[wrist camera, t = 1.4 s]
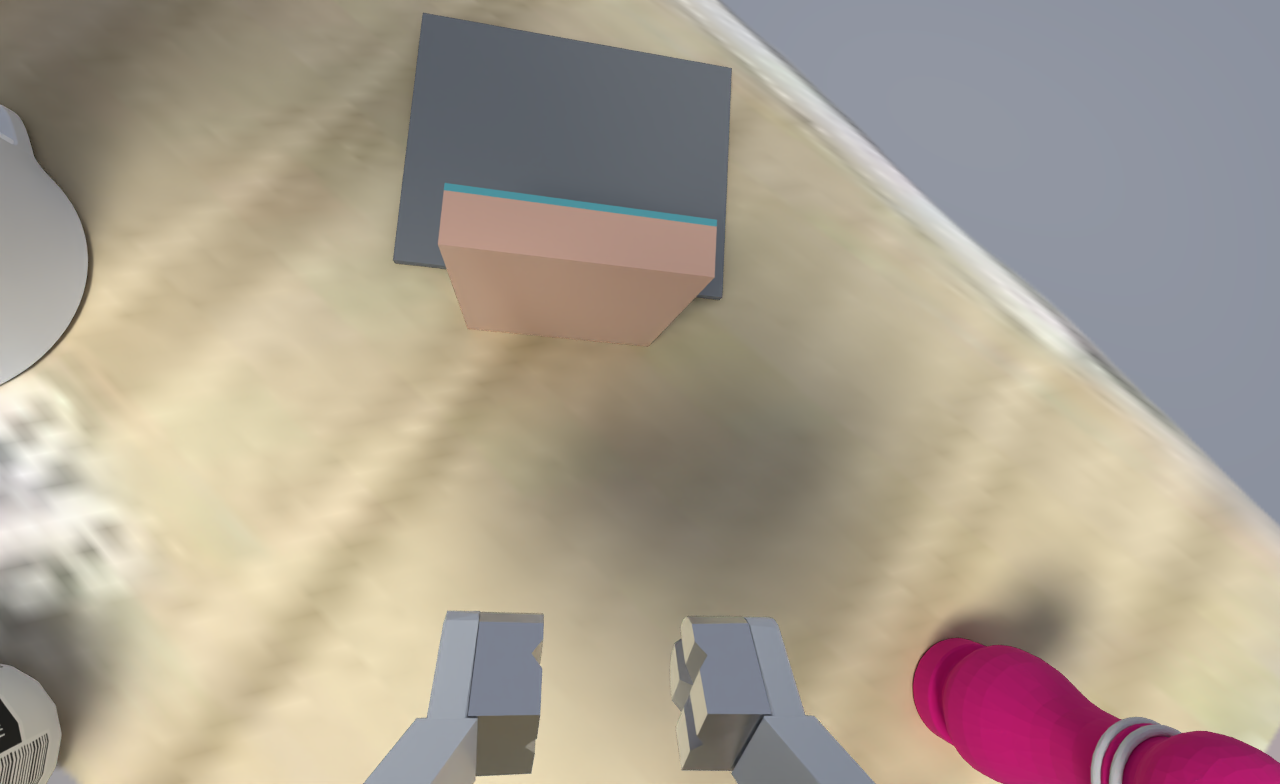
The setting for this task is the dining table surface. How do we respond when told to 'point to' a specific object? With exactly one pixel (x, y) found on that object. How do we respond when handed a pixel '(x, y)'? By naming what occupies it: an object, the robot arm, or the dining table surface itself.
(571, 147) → the mat
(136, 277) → the dining table surface
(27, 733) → the supplement can
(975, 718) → the pepper mill
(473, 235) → the tile
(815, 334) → the dining table surface
